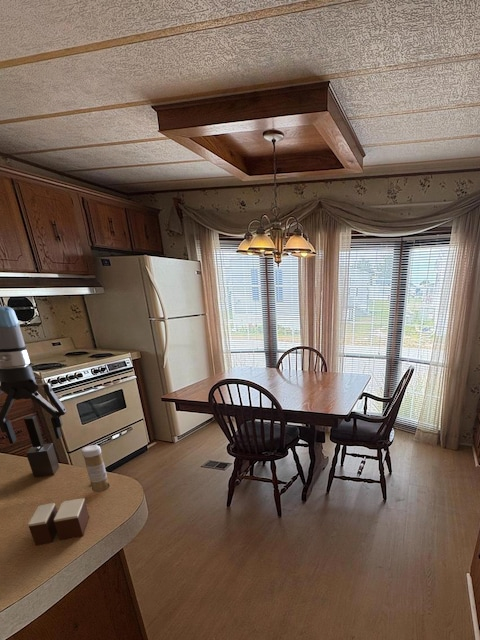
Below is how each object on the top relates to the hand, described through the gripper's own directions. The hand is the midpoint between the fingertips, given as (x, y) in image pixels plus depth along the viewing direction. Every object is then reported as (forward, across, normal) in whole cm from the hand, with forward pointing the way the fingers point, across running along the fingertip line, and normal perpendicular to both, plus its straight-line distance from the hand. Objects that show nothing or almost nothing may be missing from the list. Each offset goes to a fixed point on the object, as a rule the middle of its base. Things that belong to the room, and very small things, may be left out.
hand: (36, 439), depth 102 cm
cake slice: (+13, +8, -32) cm, 35 cm away
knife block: (+13, 0, 0) cm, 13 cm away
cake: (+13, +13, -32) cm, 37 cm away
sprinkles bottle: (+13, +16, -13) cm, 24 cm away
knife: (+13, 0, 0) cm, 13 cm away
